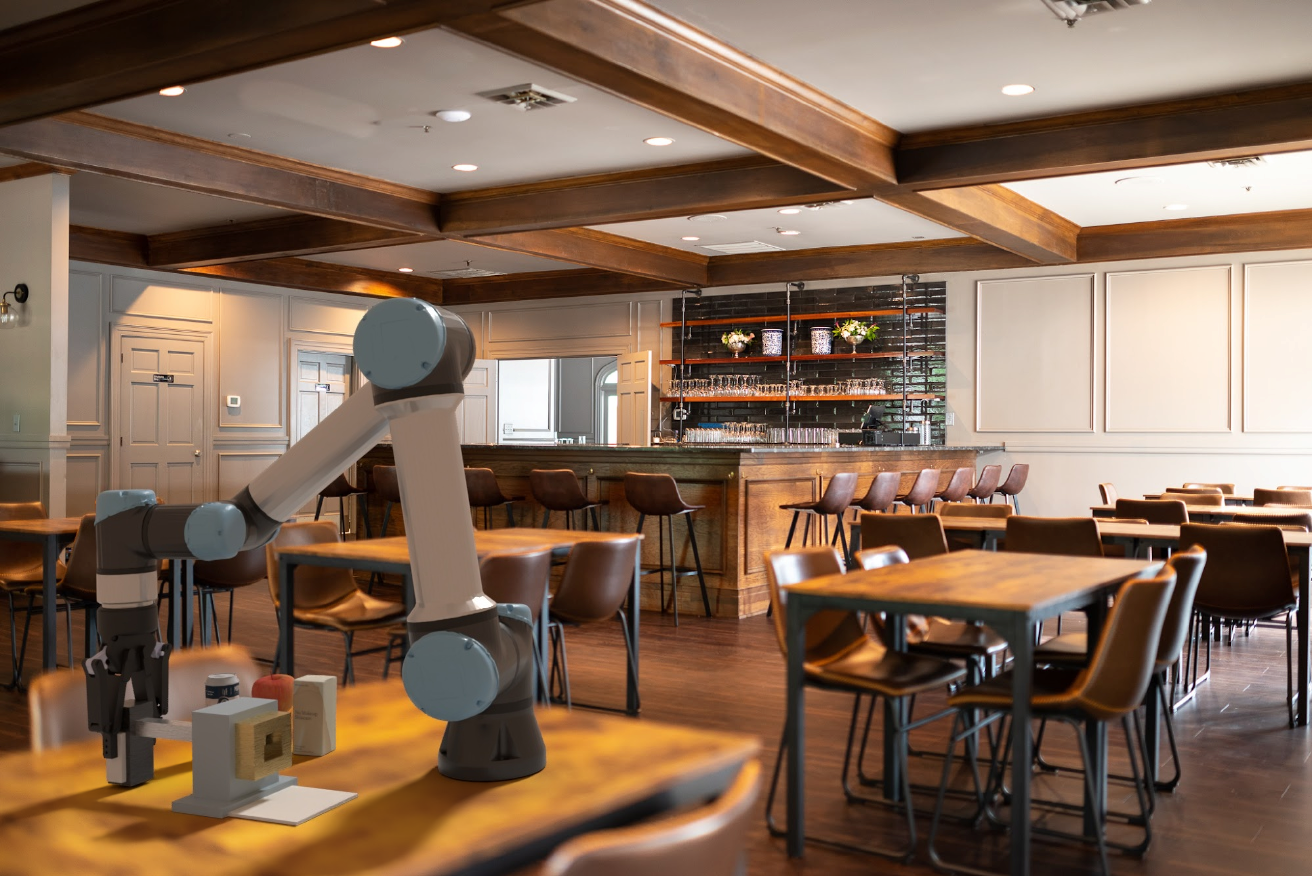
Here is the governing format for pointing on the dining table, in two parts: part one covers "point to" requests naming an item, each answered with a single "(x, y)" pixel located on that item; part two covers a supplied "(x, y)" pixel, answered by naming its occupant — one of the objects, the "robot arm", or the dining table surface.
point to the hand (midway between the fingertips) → (130, 776)
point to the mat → (293, 805)
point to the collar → (250, 747)
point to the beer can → (221, 688)
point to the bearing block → (225, 761)
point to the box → (314, 715)
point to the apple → (275, 690)
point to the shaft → (147, 738)
